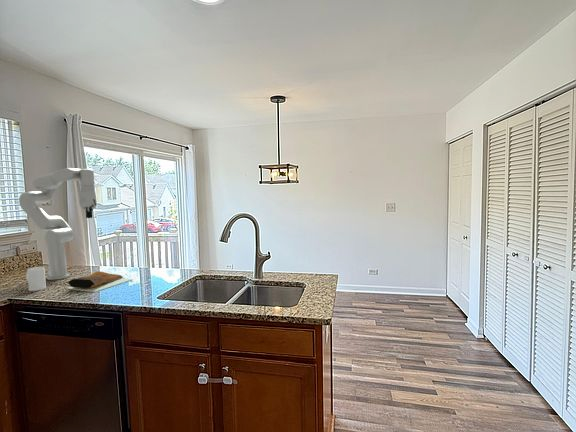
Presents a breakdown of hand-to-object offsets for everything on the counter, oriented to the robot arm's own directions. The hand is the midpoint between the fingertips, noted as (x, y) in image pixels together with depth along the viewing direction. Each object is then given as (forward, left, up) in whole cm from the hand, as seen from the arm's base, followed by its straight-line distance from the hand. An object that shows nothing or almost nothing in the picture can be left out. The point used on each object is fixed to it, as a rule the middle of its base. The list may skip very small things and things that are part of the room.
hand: (89, 217), depth 217 cm
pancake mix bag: (+17, -21, -34) cm, 44 cm away
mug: (-12, -27, -39) cm, 49 cm away
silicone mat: (+17, -8, -39) cm, 43 cm away
